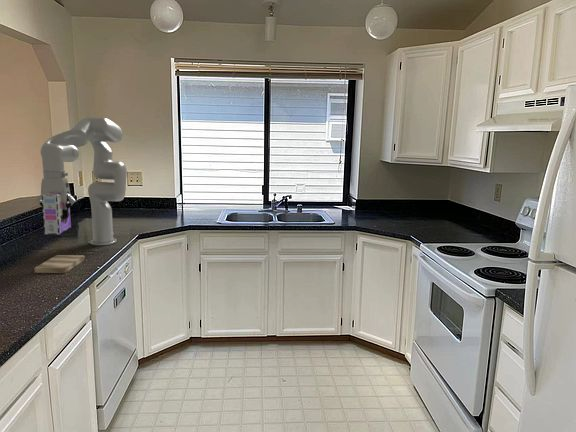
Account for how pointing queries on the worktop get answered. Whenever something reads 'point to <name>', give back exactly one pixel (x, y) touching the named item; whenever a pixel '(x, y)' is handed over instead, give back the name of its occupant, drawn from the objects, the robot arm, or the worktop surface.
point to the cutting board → (59, 264)
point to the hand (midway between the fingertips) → (57, 218)
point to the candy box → (54, 214)
